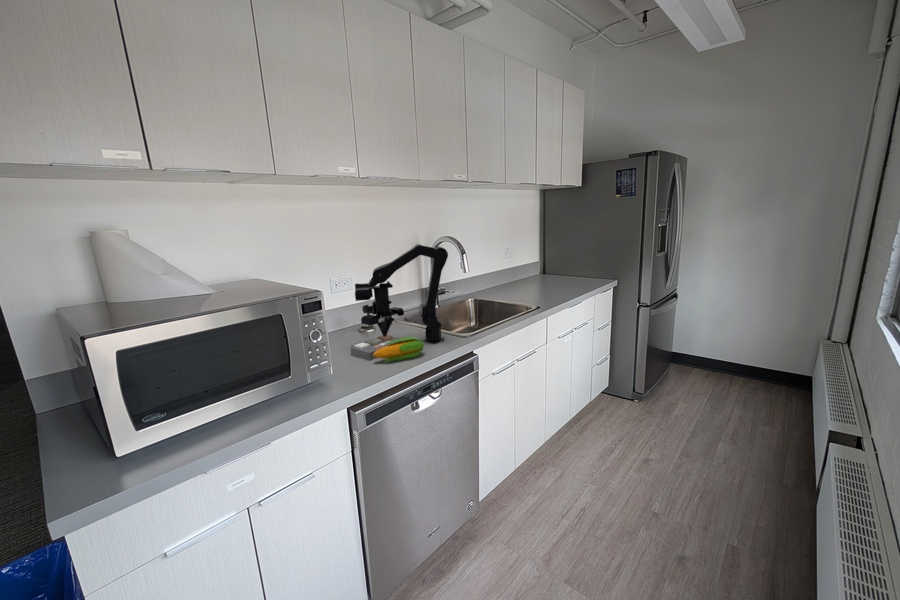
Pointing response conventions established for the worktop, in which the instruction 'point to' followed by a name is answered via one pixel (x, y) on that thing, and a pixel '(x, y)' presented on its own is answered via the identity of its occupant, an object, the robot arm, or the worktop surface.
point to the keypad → (371, 349)
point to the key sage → (373, 341)
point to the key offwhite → (362, 346)
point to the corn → (400, 349)
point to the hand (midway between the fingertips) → (384, 335)
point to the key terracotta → (385, 337)
